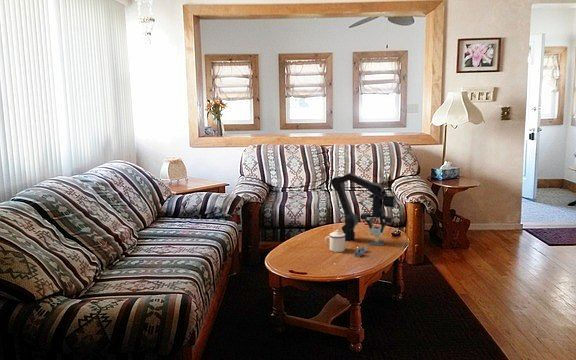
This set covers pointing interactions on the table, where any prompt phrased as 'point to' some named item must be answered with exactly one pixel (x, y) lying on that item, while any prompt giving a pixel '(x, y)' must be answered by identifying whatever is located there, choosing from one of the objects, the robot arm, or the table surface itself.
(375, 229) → the end link
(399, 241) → the table surface
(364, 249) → the link
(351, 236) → the robot arm
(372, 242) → the grey peg holder
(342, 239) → the teacup with lid
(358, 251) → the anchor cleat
